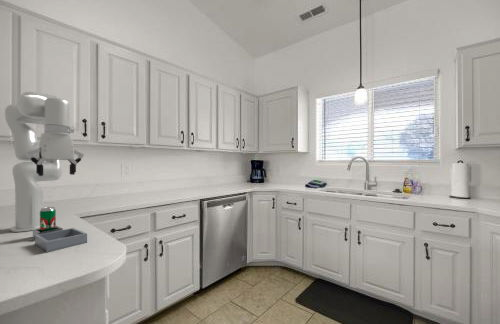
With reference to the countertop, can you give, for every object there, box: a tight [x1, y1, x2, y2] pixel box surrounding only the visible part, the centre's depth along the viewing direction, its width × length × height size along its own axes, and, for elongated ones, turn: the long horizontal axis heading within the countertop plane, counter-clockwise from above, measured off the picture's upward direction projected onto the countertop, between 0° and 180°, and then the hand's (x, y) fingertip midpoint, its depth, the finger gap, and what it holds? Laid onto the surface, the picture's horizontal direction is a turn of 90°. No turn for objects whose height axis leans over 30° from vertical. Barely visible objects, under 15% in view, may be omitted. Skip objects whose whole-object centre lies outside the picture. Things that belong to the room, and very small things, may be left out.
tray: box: [34, 227, 88, 253], centre depth 88 cm, size 14×12×4 cm
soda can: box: [40, 206, 57, 232], centre depth 97 cm, size 5×5×12 cm
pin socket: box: [32, 225, 64, 239], centre depth 97 cm, size 8×8×3 cm
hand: (57, 175), depth 89 cm, fingers open, 9 cm apart
